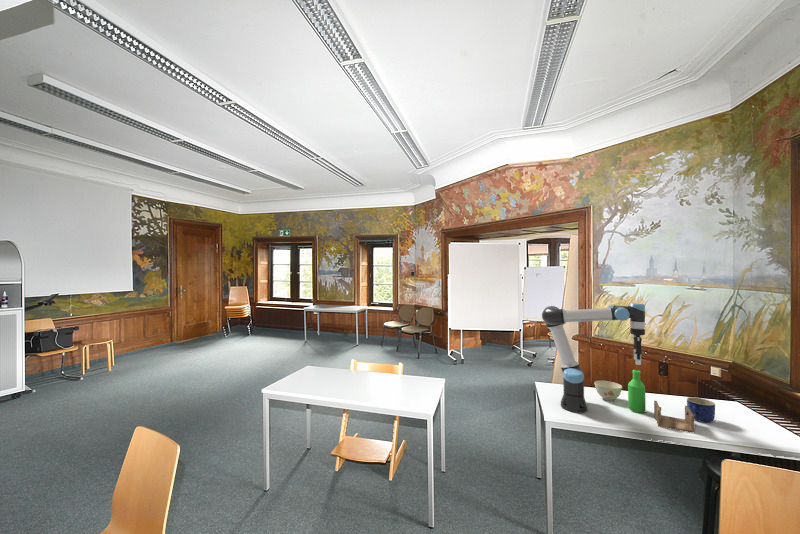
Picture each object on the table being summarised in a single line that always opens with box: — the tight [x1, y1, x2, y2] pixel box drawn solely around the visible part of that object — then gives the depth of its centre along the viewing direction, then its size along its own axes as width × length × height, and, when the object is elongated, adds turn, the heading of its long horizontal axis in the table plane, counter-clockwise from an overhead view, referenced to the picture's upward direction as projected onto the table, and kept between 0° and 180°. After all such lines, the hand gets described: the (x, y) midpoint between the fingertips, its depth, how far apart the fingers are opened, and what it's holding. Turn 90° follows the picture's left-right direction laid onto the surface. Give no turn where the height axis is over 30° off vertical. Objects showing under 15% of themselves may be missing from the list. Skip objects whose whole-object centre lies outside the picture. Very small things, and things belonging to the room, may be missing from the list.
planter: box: [686, 396, 716, 424], centre depth 195 cm, size 12×12×11 cm
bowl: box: [594, 380, 623, 402], centre depth 226 cm, size 16×16×10 cm
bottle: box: [627, 369, 647, 414], centre depth 208 cm, size 9×9×25 cm
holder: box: [653, 400, 695, 433], centre depth 189 cm, size 15×16×9 cm
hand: (637, 362), depth 208 cm, fingers open, 13 cm apart
